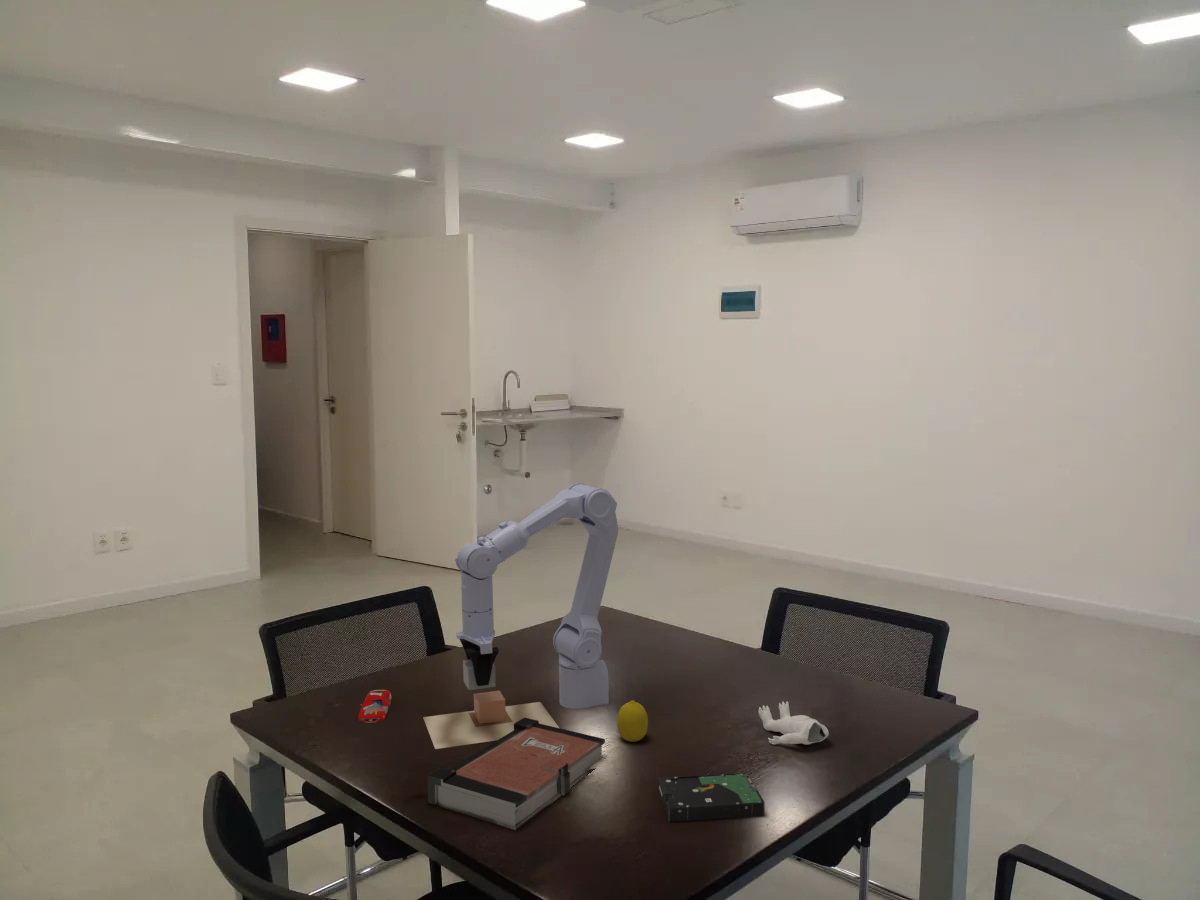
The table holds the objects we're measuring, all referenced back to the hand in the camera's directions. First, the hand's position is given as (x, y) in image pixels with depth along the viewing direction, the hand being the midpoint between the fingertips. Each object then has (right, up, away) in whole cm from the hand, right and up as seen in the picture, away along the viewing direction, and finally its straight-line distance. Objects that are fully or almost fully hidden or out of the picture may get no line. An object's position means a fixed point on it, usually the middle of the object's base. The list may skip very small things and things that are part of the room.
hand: (479, 679), depth 170 cm
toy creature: (+58, -10, -4) cm, 59 cm away
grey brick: (0, -1, 0) cm, 1 cm away
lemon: (+28, -10, -7) cm, 31 cm away
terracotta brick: (+1, -8, +3) cm, 9 cm away
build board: (+2, -9, 0) cm, 10 cm away
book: (+10, -12, -21) cm, 26 cm away
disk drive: (+39, -13, -28) cm, 50 cm away
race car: (-21, -9, +8) cm, 24 cm away
